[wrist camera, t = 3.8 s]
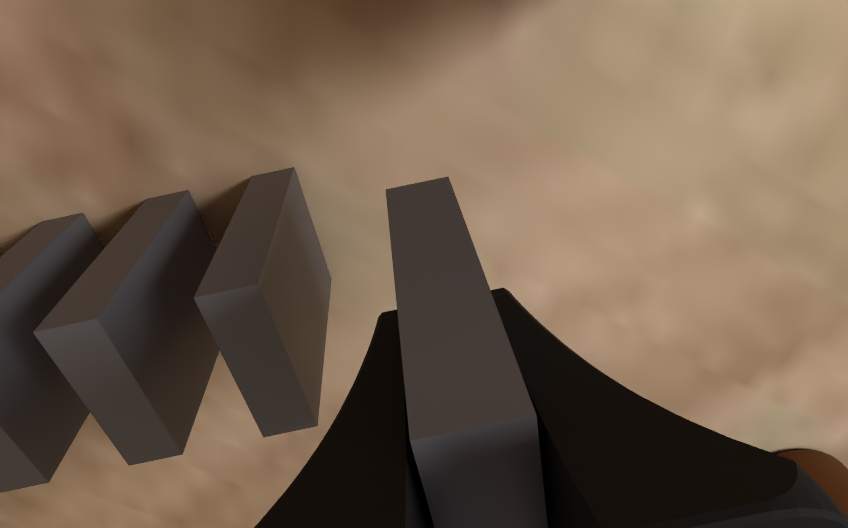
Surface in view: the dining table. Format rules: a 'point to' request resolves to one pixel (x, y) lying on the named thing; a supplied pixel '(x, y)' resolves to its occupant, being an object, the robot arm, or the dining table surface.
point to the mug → (824, 473)
